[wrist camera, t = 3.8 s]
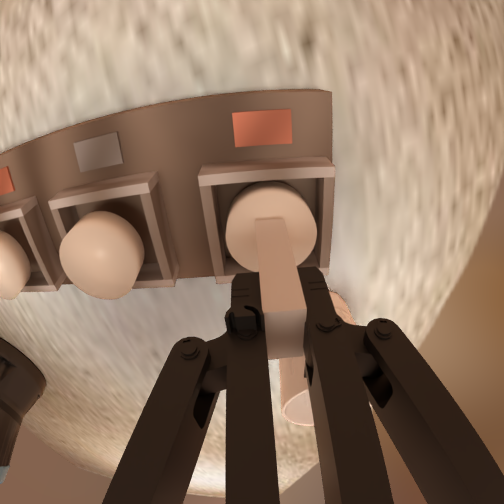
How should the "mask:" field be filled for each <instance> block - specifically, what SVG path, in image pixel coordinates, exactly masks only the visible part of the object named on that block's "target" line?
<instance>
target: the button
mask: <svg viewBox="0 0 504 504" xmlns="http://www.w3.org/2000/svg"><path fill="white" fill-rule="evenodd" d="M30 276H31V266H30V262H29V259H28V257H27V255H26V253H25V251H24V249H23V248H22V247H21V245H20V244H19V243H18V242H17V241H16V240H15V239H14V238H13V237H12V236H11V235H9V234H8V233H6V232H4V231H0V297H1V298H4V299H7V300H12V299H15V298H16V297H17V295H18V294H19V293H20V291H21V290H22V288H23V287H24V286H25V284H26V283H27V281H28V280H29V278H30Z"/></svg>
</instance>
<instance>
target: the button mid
mask: <svg viewBox="0 0 504 504" xmlns="http://www.w3.org/2000/svg"><path fill="white" fill-rule="evenodd" d="M144 254H145V253H144V246H143V242H142V240H141V238H140V236H139V234H138V232H137V231H136V230H135V228H134V227H133V226H132V225H131V224H130V223H129V222H128V221H126V220H125V219H124V218H122V217H120V216H118V215H116V214H114V213H111V212H106V211H94V212H91V213H88V214H86V215H85V216H83V217H82V218H81V219H80V220H79V221H78V222H77V223H76V224H75V225H74V227H73V228H72V229H71V230H70V231H69V232H68V234H67V235H66V236H65V237H64V239H63V240H62V242H61V245H60V250H59V256H60V261H61V265H62V267H63V270H64V272H65V273H66V275H67V276H68V278H69V279H70V280H71V281H72V282H73V284H74V285H76V286H77V287H78V288H79V289H81V290H82V291H83V292H85V293H87V294H89V295H91V296H94V297H96V298H100V299H117V298H120V297H123V296H124V295H126V294H127V293H128V292H129V291H130V290H131V289H132V287H133V285H134V283H135V280H136V278H137V276H138V273H139V271H140V269H141V266H142V264H143V261H144Z"/></svg>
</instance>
